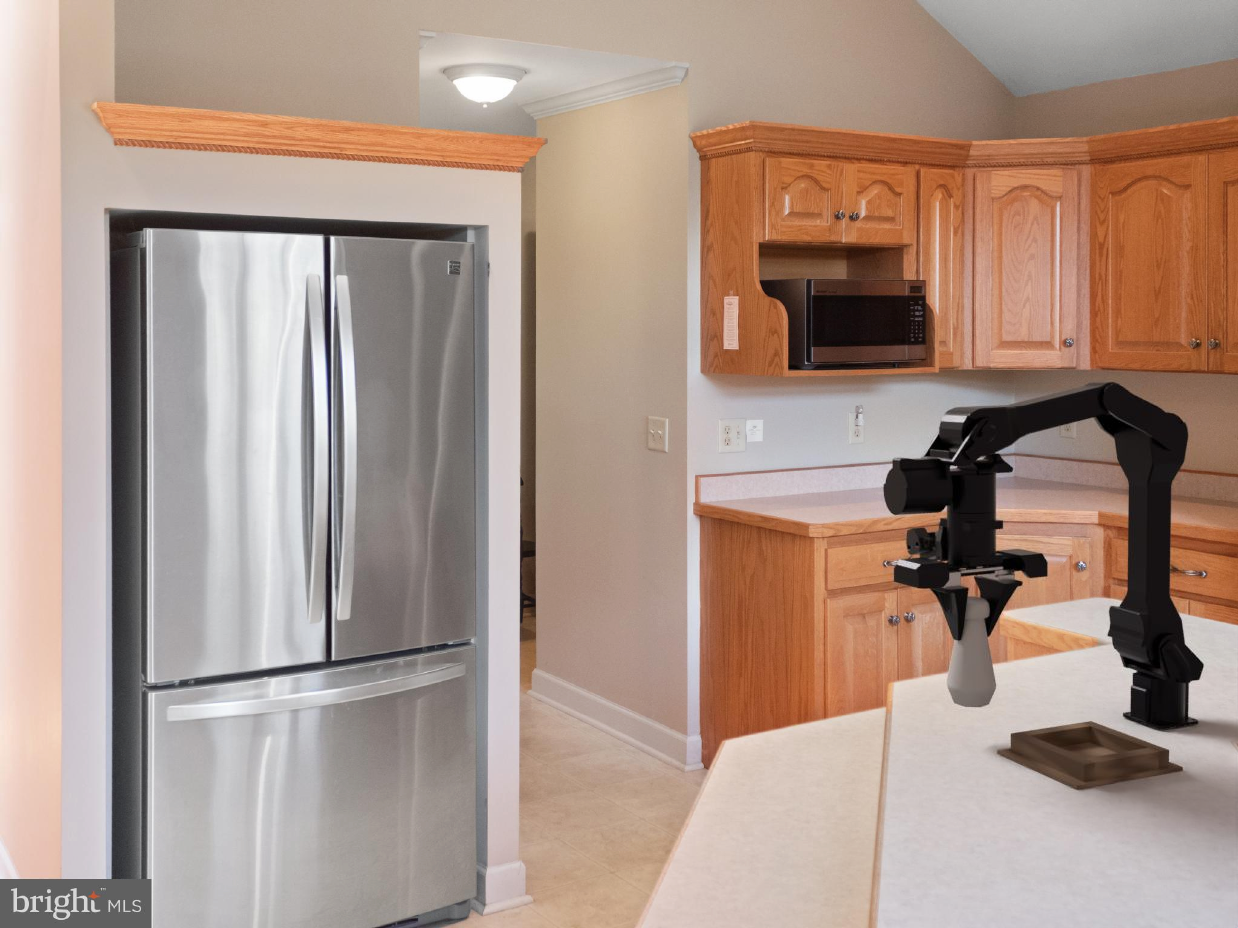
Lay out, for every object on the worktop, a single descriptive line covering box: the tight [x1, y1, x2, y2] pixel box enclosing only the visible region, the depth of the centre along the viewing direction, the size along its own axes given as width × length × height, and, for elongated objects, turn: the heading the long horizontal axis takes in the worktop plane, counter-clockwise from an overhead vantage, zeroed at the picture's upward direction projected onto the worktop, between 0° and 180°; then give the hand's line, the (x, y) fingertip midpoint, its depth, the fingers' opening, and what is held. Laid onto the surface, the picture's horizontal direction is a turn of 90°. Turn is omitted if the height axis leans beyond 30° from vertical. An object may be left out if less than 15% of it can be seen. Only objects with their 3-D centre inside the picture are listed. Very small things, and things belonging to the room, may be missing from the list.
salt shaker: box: [946, 595, 997, 708], centre depth 140 cm, size 6×6×13 cm
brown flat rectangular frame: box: [996, 720, 1184, 790], centre depth 133 cm, size 15×13×2 cm
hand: (971, 638), depth 140 cm, fingers closed on salt shaker, 4 cm apart
